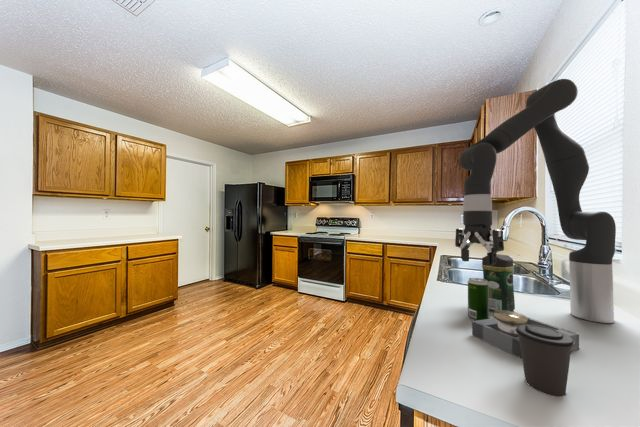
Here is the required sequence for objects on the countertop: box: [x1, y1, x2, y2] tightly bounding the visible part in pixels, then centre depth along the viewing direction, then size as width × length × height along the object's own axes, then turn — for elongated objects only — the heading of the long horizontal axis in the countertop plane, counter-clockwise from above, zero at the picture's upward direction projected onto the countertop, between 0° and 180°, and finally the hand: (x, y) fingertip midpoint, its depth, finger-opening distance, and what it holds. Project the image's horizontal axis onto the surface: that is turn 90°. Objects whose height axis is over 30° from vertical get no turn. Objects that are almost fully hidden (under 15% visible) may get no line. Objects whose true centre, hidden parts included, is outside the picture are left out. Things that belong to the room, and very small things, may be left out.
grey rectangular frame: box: [471, 316, 580, 360], centre depth 61 cm, size 17×13×4 cm
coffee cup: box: [515, 325, 576, 397], centre depth 45 cm, size 8×8×10 cm
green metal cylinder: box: [467, 277, 490, 322], centre depth 76 cm, size 5×5×12 cm
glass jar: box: [493, 310, 528, 338], centre depth 60 cm, size 6×6×7 cm
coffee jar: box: [481, 253, 516, 313], centre depth 85 cm, size 10×8×19 cm
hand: (477, 263), depth 76 cm, fingers open, 8 cm apart
